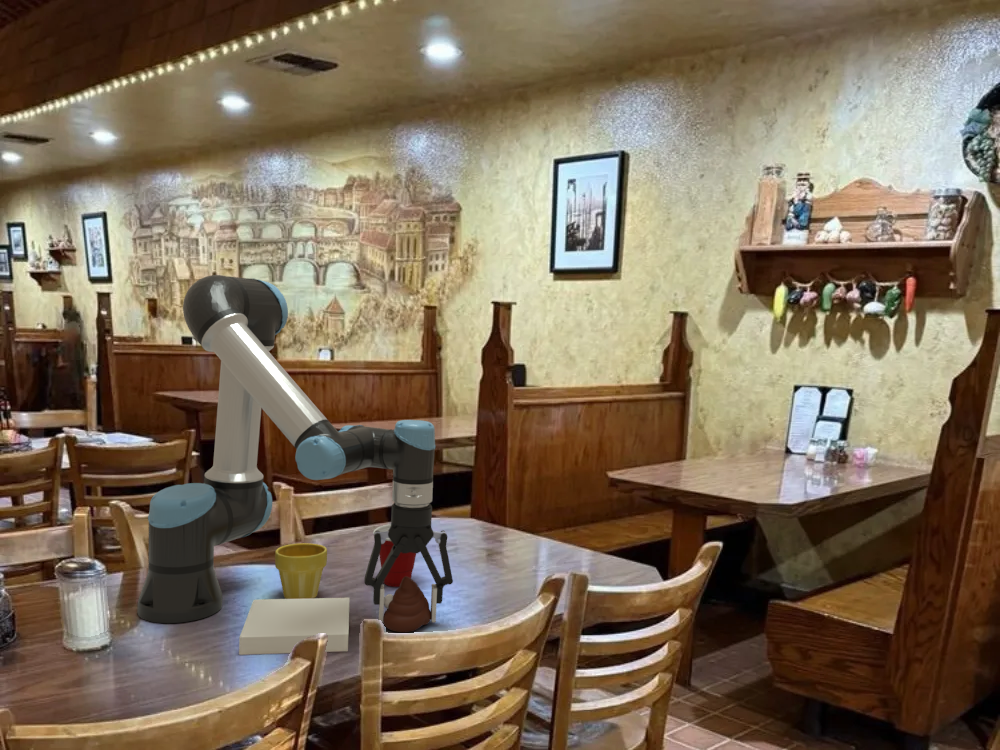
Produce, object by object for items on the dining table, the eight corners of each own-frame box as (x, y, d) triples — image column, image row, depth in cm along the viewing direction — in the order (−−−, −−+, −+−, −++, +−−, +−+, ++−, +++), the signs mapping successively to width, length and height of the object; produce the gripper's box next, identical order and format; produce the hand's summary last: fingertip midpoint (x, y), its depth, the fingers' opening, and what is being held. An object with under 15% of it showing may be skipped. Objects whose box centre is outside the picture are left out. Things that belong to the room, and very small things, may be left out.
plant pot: (272, 589, 162) (273, 543, 161) (322, 585, 165) (323, 541, 165) (276, 607, 152) (277, 558, 152) (329, 602, 156) (330, 555, 155)
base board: (239, 654, 130) (239, 637, 130) (253, 614, 148) (253, 599, 147) (347, 651, 133) (348, 634, 133) (349, 612, 151) (349, 597, 151)
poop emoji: (407, 637, 139) (410, 587, 139) (371, 626, 144) (373, 577, 143) (440, 621, 148) (442, 573, 147) (405, 610, 152) (407, 564, 152)
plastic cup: (361, 585, 167) (362, 530, 166) (390, 572, 177) (392, 520, 176) (402, 594, 162) (404, 538, 161) (430, 581, 172) (432, 528, 171)
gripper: (352, 507, 139) (348, 629, 140) (472, 508, 143) (466, 626, 144) (353, 498, 146) (348, 613, 148) (466, 499, 150) (461, 611, 152)
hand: (407, 620), depth 146 cm, fingers closed on poop emoji, 9 cm apart
